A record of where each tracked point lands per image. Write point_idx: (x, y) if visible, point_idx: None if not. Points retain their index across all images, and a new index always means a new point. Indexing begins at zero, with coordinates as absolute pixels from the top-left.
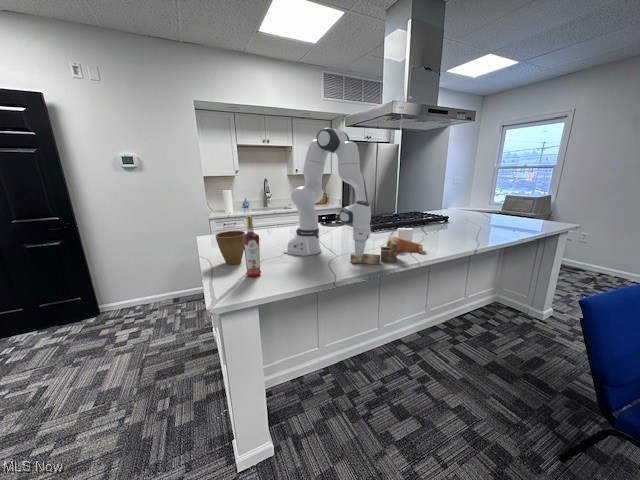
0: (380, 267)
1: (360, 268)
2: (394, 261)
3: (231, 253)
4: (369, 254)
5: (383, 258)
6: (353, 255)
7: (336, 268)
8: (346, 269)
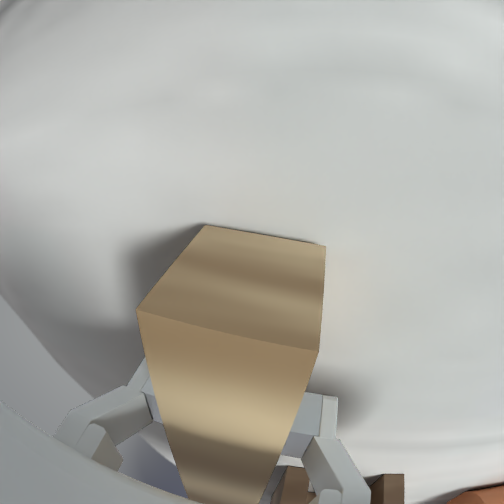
0: (157, 431)
1: (73, 309)
2: (271, 500)
3: None
4: (247, 493)
5: (279, 496)
6: (148, 352)
7: (9, 62)
8: (10, 174)
